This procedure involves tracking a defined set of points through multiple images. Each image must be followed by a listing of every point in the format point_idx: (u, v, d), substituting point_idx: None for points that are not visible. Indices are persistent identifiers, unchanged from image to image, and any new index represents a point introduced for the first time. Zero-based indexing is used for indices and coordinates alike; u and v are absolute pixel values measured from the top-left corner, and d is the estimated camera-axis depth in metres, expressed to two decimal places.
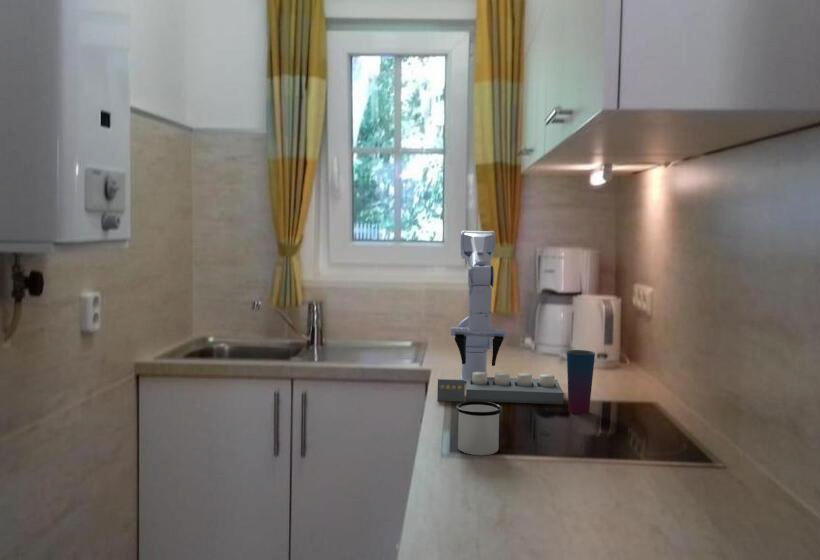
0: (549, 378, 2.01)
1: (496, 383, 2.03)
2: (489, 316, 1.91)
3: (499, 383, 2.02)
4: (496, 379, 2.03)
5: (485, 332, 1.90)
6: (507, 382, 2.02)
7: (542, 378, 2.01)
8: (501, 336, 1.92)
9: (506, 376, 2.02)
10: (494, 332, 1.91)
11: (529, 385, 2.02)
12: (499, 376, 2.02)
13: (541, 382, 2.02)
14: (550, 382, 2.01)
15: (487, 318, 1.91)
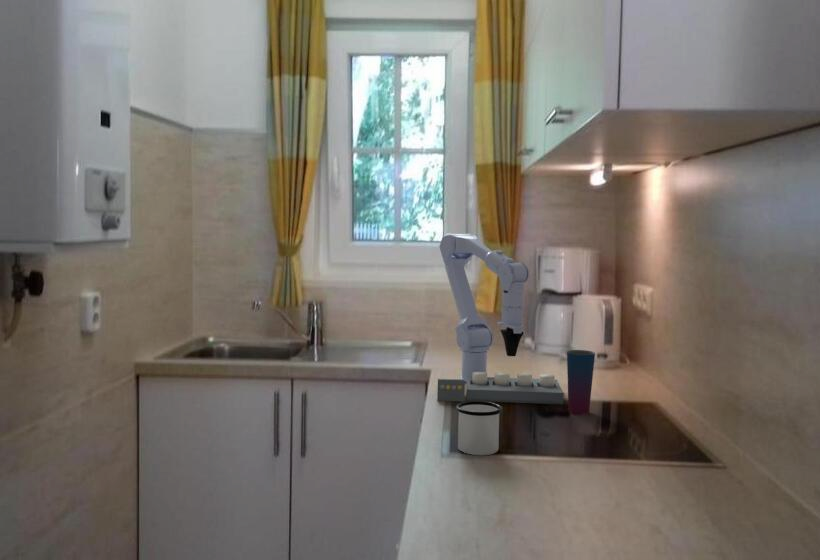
0: (549, 378, 2.01)
1: (496, 383, 2.03)
2: (510, 311, 2.04)
3: (499, 383, 2.02)
4: (496, 379, 2.03)
5: (504, 324, 2.05)
6: (507, 382, 2.02)
7: (542, 378, 2.01)
8: None
9: (506, 376, 2.02)
10: (508, 326, 2.03)
11: (529, 385, 2.02)
12: (499, 376, 2.02)
13: (541, 382, 2.02)
14: (550, 382, 2.01)
15: (507, 312, 2.04)
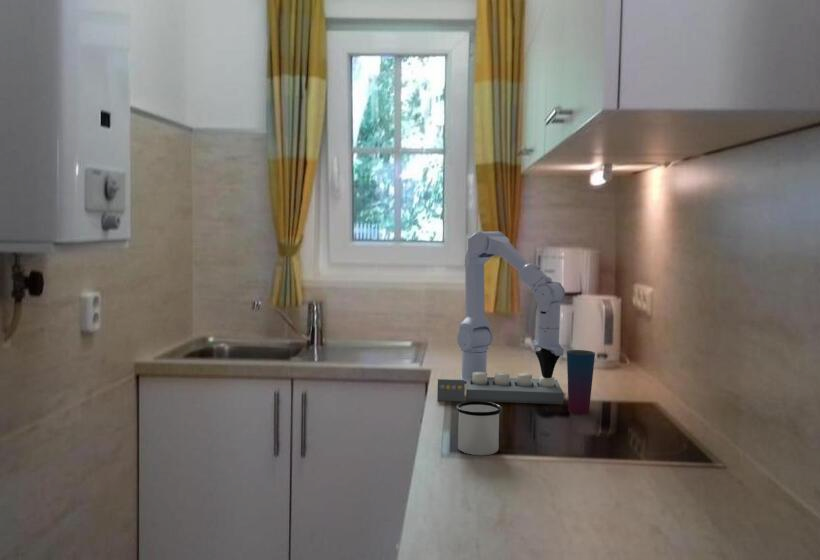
0: (549, 380, 2.01)
1: (496, 383, 2.03)
2: (548, 332, 1.99)
3: (499, 383, 2.02)
4: (496, 379, 2.03)
5: (542, 346, 1.99)
6: (507, 382, 2.02)
7: (542, 380, 2.01)
8: None
9: (506, 376, 2.02)
10: (548, 348, 1.98)
11: (529, 385, 2.02)
12: (499, 376, 2.02)
13: (541, 384, 2.02)
14: (550, 384, 2.01)
15: (545, 333, 1.99)
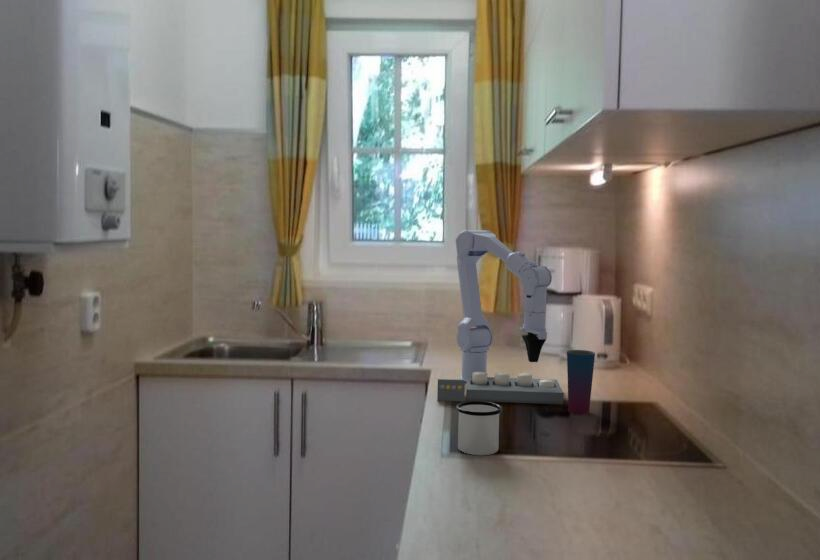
0: (549, 383, 2.01)
1: (496, 383, 2.03)
2: (533, 316, 1.99)
3: (499, 383, 2.02)
4: (496, 379, 2.03)
5: (527, 330, 2.00)
6: (507, 382, 2.02)
7: (542, 383, 2.01)
8: None
9: (506, 376, 2.02)
10: (532, 331, 1.98)
11: (529, 385, 2.02)
12: (499, 376, 2.02)
13: None
14: None
15: (530, 317, 1.99)
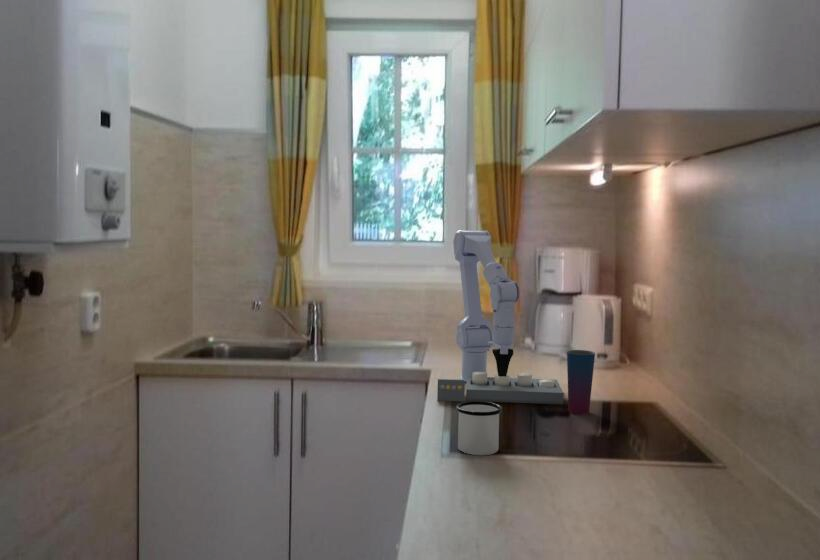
0: (549, 383, 2.01)
1: None
2: (499, 330, 2.00)
3: None
4: (496, 381, 2.03)
5: (493, 344, 2.01)
6: (507, 384, 2.02)
7: (542, 383, 2.01)
8: None
9: (506, 378, 2.02)
10: (496, 346, 1.99)
11: (529, 385, 2.02)
12: (499, 378, 2.02)
13: None
14: None
15: (496, 332, 2.01)
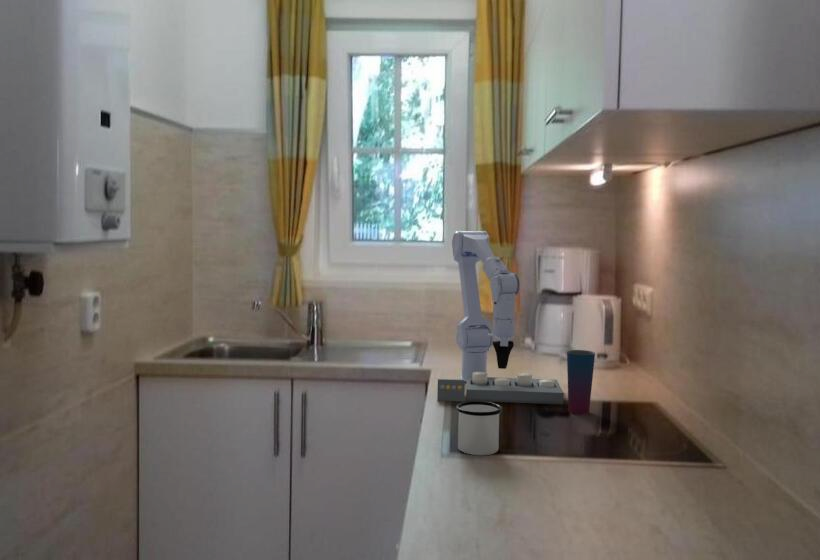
0: (549, 383, 2.01)
1: None
2: (499, 322, 2.00)
3: None
4: (496, 384, 2.03)
5: (493, 336, 2.01)
6: None
7: (542, 383, 2.01)
8: None
9: (506, 382, 2.02)
10: (497, 338, 1.99)
11: (529, 385, 2.02)
12: (499, 382, 2.02)
13: None
14: None
15: (497, 324, 2.00)
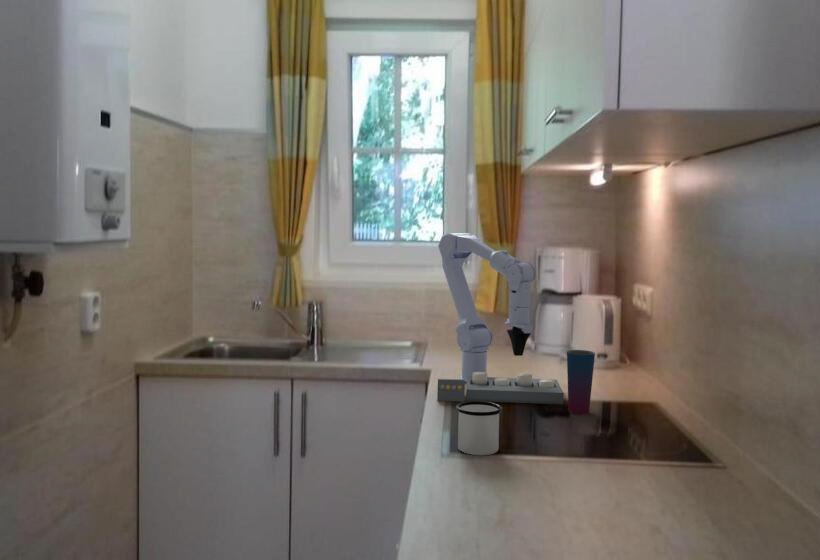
0: (549, 383, 2.01)
1: None
2: (519, 310, 2.04)
3: None
4: (496, 384, 2.03)
5: (512, 324, 2.05)
6: None
7: (542, 383, 2.01)
8: None
9: (506, 382, 2.02)
10: (518, 326, 2.03)
11: (529, 385, 2.02)
12: (499, 382, 2.02)
13: None
14: None
15: (516, 312, 2.05)
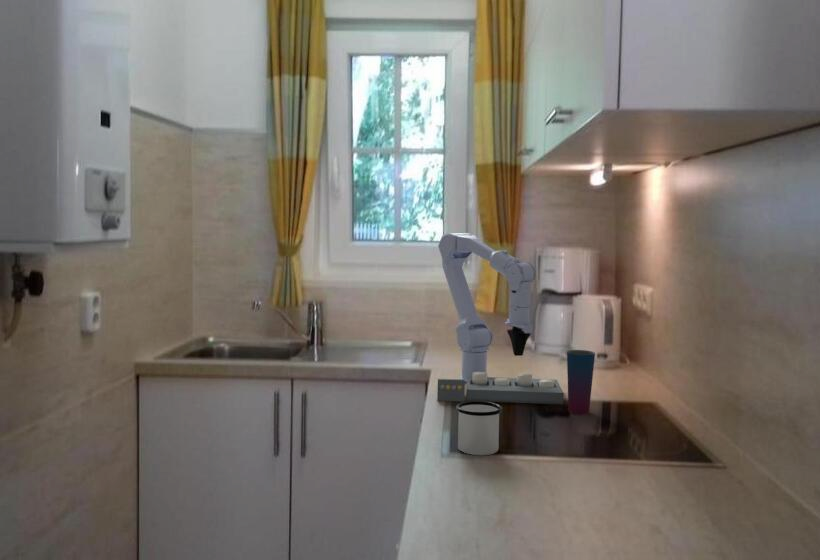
0: (549, 383, 2.01)
1: None
2: (519, 310, 2.04)
3: None
4: (496, 384, 2.03)
5: (512, 324, 2.05)
6: None
7: (542, 383, 2.01)
8: None
9: (506, 382, 2.02)
10: (518, 326, 2.03)
11: (529, 385, 2.02)
12: (499, 382, 2.02)
13: None
14: None
15: (516, 312, 2.05)
